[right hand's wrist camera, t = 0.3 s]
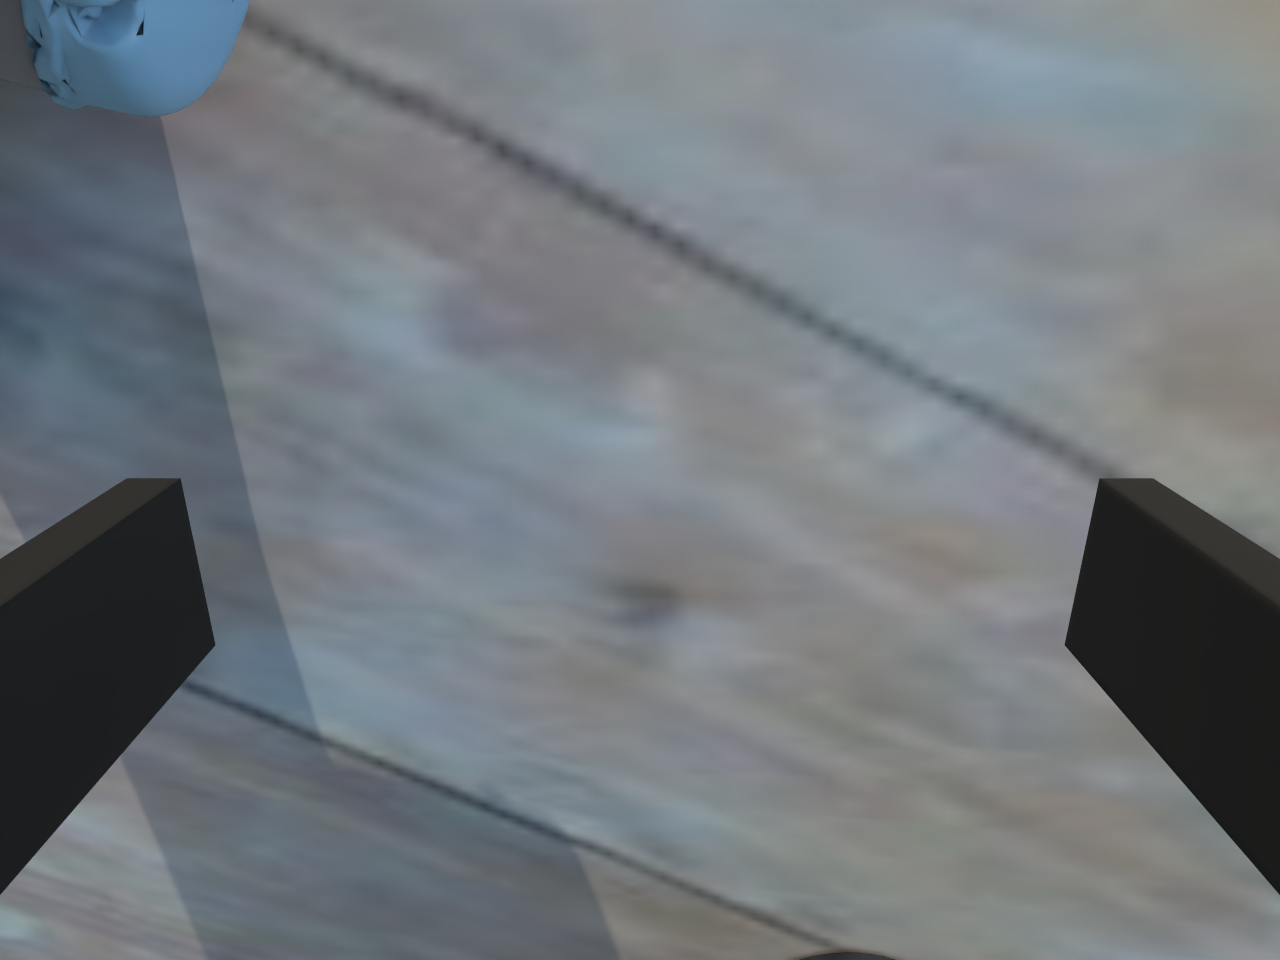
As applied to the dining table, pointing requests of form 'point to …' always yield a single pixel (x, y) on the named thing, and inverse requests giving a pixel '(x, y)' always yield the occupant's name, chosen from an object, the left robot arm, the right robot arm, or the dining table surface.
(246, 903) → the dining table surface
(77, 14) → the left robot arm
